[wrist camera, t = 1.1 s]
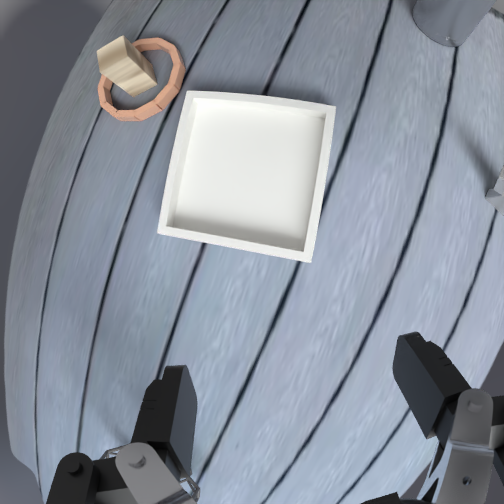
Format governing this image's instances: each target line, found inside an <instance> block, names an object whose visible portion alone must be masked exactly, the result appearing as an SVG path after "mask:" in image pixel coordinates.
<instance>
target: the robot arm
mask: <svg viewBox="0 0 504 504" xmlns="http://www.w3.org/2000/svg"><path fill="white" fill-rule="evenodd" d="M495 2H496V0H417V1H416V4H415V6H414V8H413V18H414V21H415V23H416V24H417V26H418V27H419V28H420V30H421V31H422V32H423V33H424V34H425V35H427V36H428V37H429V38H431V39H432V40H434V41H436V42H438V43H440V44H442V45H445V46H450V47H456V46H460V45H462V44H463V43H464V42H465V40H466V39H467V38H468V37H469V35H470V34H471V33H472V31H473V30H474V29H475V28H476V27H477V25H478V24H479V23H480V21H481V20H482V19H483V18H484V16H485V15H486V14H487V12H488V11H489V10H490V8H491V7H492V6H493V4H494V3H495ZM393 375H394V378H395V381H396V382H397V384H398V386H399V388H400V390H401V392H402V393H403V395H404V397H405V399H406V401H407V403H408V405H409V407H410V408H411V410H412V412H413V414H414V416H415V418H416V420H417V422H418V424H419V426H420V428H421V430H422V432H423V434H424V436H425V438H426V439H429V438H432V437H434V436H437V438H438V440H439V441H438V443H437V445H436V449H435V452H434V456H433V459H432V462H431V465H430V468H429V472H428V474H427V477H426V480H425V483H424V485H423V487H422V489H421V491H420V493H419V495H418V497H417V499H410V498H403V499H399V496H398V494H397V492H395V493H392V494H389V495H385V496H382V497H379V498H375V499H372V500H368V501H365V502H363V503H361V504H484V503H485V500H486V495H487V491H488V486H489V481H490V476H491V470H492V464H494V466H495V468H496V471H497V473H498V475H499V477H500V479H501V481H502V483H503V485H504V396H497V397H491V396H490V395H489V394H488V393H487V392H485V391H483V390H481V389H476V388H473V389H472V388H471V387H470V386H469V384H468V383H467V381H466V380H465V379H464V377H463V376H462V375H461V373H460V372H459V371H458V369H457V368H456V367H455V366H454V364H452V362H451V360H450V359H449V358H447V355H446V354H445V353H444V351H443V350H442V349H441V348H440V347H439V346H437V345H436V344H434V343H433V342H431V341H428V342H426V341H425V340H424V338H423V337H422V336H421V335H420V333H419V332H412V333H408V334H404V335H400V336H399V337H398V339H397V345H396V350H395V356H394V361H393ZM140 409H141V411H140V412H139V415H138V418H137V422H136V426H135V429H134V433H133V436H132V440H131V443H130V444H128V445H126V446H124V447H123V448H122V449H121V450H120V451H119V452H118V453H117V456H115V457H111V458H106V459H100V460H94V461H92V460H91V459H90V458H89V457H88V456H87V455H85V454H83V453H78V452H76V453H70V454H68V455H66V456H65V457H63V458H62V459H61V460H60V462H59V464H58V466H57V469H56V473H55V476H54V479H53V482H52V485H51V489H50V492H49V495H48V499H47V502H46V504H197V503H196V502H195V501H194V499H193V498H192V497H191V496H190V495H189V494H188V493H187V492H186V491H185V490H184V489H183V487H182V486H181V485H180V477H181V478H190V469H191V459H192V450H193V441H194V432H195V423H196V414H197V397H196V392H195V389H194V386H193V383H192V380H191V377H190V374H189V370H188V368H187V366H186V365H177V366H166V367H165V370H164V374H163V377H162V380H153V382H152V383H151V384H150V385H149V386H148V388H147V389H146V391H145V395H144V398H143V402H142V405H141V408H140Z"/></svg>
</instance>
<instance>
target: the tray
mask: <svg viewBox="0 0 504 504" xmlns="http://www.w3.org/2000/svg"><path fill="white" fill-rule="evenodd" d="M335 112H336V106H330V105H325V104H319V103H313V102H307V101H300V100H294V99H286V98H279V97H270V96H262V95H252V94H241V93H228V92H211V91H187V93H186V97H185V101H184V105H183V109H182V113H181V117H180V121H179V125H178V129H177V133H176V138H175V142H174V147H173V151H172V156H171V161H170V165H169V170H168V175H167V180H166V185H165V191H164V196H163V201H162V207H161V213H160V219H159V225H158V231H157V233H158V234H163V235H168V236H174V237H179V238H184V239H189V240H194V241H200V242H205V243H210V244H215V245H220V246H225V247H231V248H236V249H241V250H246V251H251V252H257V253H262V254H267V255H272V256H277V257H282V258H288V259H293V260H298V261H303V262H308V263H311V260H312V255H313V250H314V244H315V239H316V234H317V228H318V223H319V217H320V211H321V206H322V200H323V194H324V188H325V181H326V175H327V169H328V162H329V155H330V148H331V141H332V134H333V127H334V119H335Z"/></svg>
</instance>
